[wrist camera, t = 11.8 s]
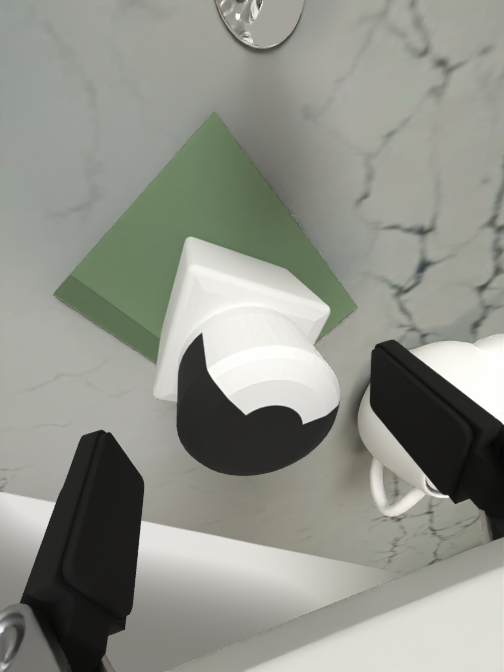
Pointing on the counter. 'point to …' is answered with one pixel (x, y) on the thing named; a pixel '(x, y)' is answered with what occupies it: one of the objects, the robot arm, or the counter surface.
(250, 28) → the wineglass
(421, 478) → the teapot
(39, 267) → the counter surface
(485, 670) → the robot arm
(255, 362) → the medicine bottle
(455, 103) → the counter surface
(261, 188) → the napkin
